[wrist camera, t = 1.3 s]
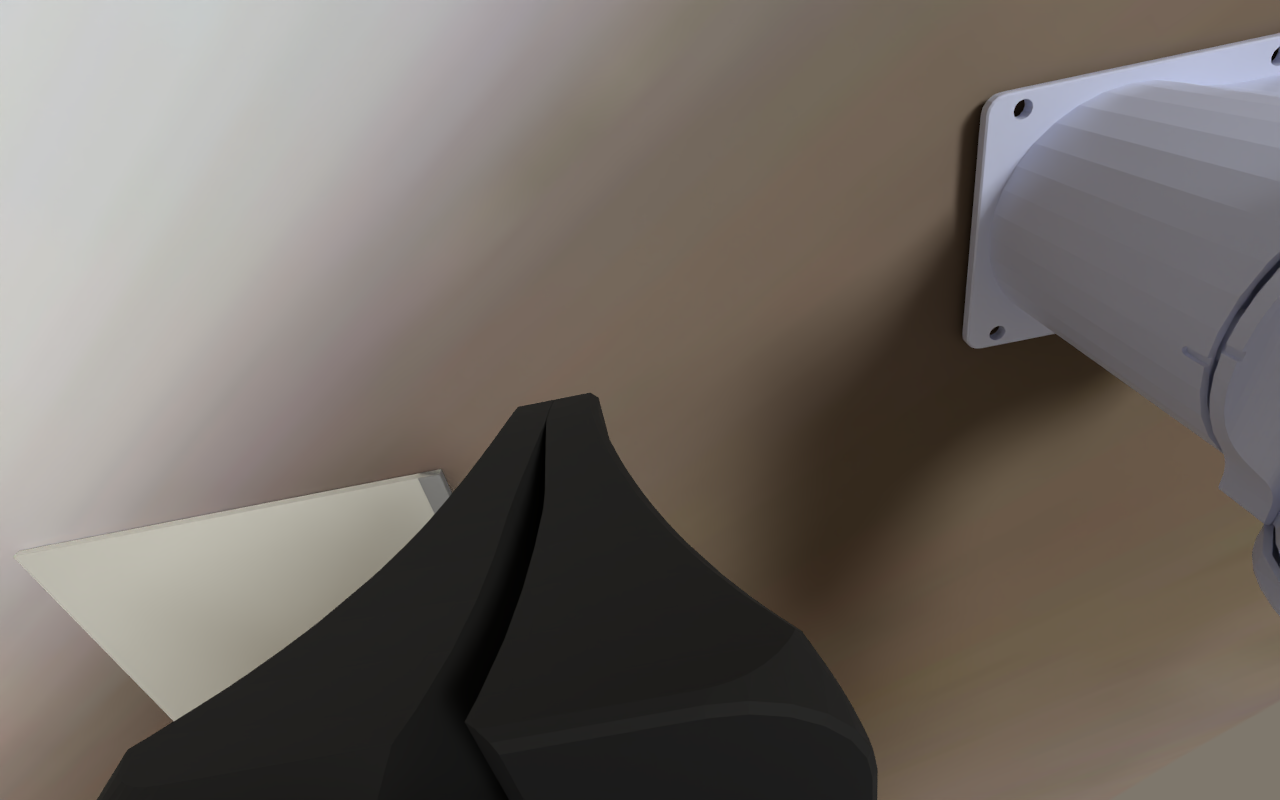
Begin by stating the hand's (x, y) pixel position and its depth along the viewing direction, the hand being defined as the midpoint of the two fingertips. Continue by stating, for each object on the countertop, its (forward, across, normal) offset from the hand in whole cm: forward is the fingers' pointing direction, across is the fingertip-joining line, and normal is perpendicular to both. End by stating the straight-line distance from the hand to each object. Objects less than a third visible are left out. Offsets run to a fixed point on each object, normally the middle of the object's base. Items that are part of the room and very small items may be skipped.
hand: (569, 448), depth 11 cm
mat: (+10, +15, +14) cm, 23 cm away
